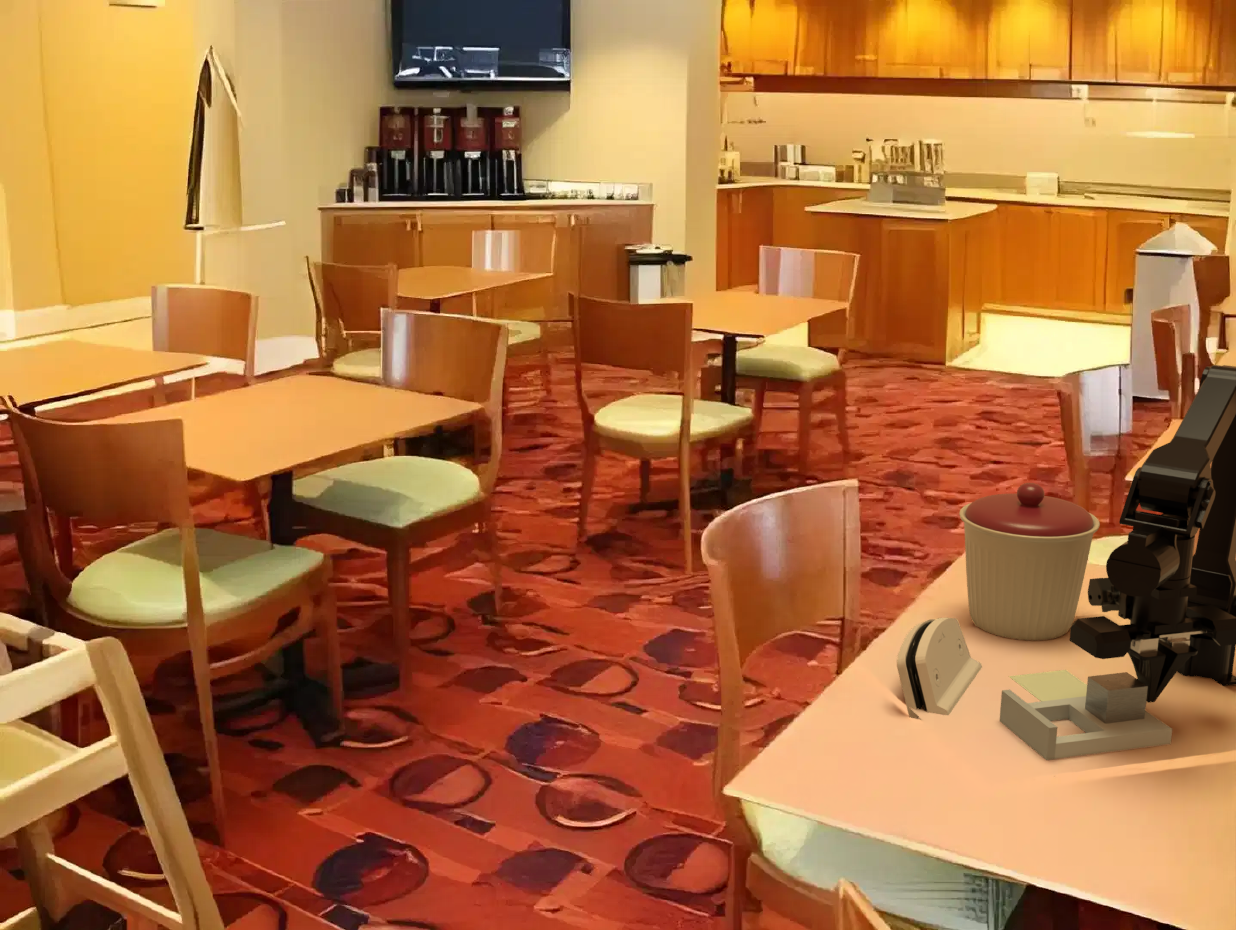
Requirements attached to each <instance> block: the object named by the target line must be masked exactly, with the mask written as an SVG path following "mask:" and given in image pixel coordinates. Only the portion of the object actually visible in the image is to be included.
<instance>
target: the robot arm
mask: <svg viewBox="0 0 1236 930" xmlns="http://www.w3.org/2000/svg"><path fill="white" fill-rule="evenodd" d="M1199 386H1200V387H1199V389H1198V391H1197V393H1196V394H1195V396H1194V398H1193V400H1192V402H1191V404H1190V405H1189V407H1188V409H1187V411H1186V413H1185V414H1184V417H1182V418H1183V419H1182V420H1181V422H1180V424H1179V426H1178V428H1177V430H1176V432H1175V434H1174V436H1172V438H1171V440H1170V441H1169V442H1168V443H1165V444H1163V445H1161V446H1158V447H1156V448H1154V449H1153V450H1152V451H1151V452H1150V453H1149V455H1148V456H1147V458H1146V459H1145V460H1144V461H1143V464H1142V465H1141V466H1140V467H1138V468H1137V469H1136V470H1135V473H1134V476H1133V478H1132V481H1131V484H1130V487H1129V490H1128V493H1127V496H1126V498H1125V502H1124V506H1123V509H1122V512H1121V514H1120V518H1119V525H1124V526H1129V527H1132V530H1131V531H1130V532H1128V535H1127V540H1126V541H1125V542H1123V543H1122V544H1121V545H1119V546H1117V547H1116V548H1115V549H1113V550H1112V552H1111V553H1110V555H1109V556H1108V559H1107V560H1106V565H1105V568H1106V569H1105V570H1106V575H1107V577H1097V578H1089V582H1088V587H1087V600H1088V603H1089V604H1090V605H1091V606H1092V607H1100V606H1101V612H1103V613H1108V612H1111V611H1112V612H1113V611H1114V612H1115V611H1117V612H1118V613H1117V616H1118V617H1119V618H1121V619H1124V620H1129V621H1130V622H1129V624H1122V625H1121V624H1118V623H1117V622H1115V621H1113V620H1112V619H1110V618H1109V617H1106V616H1105V615H1102V616H1101V615H1100V616H1099V615H1098V616H1091V617H1089V616H1088V617H1081V618H1080V617H1079V618H1077V619H1076V620H1074V621H1073V623H1072V626H1071V628H1070V634H1069V641H1070V642H1071V643H1073V644H1074V645H1075V646H1077V647H1079V648H1080V649H1082V650H1083V651H1085V652H1087V653H1088V654H1089V655H1091V656H1092V657H1094V658H1095V659H1100V660H1106V659H1107V660H1108V659H1117V658H1124V657H1125V656H1126V655H1127V654H1128V657H1129V658H1130V660H1131V663H1132V664H1133V668H1134V671H1135V675H1136V679H1138V680H1139V681H1141V682H1142V683H1144V684H1145V685H1147V686H1148V690H1147V699H1146V703H1149V704H1150V703H1155V702H1156V701H1157V700H1158V698H1159V697H1160V695H1161V694H1162V693H1163V691H1164V690H1165V688H1166V687H1167V686H1168V684H1169V683H1170V681H1171V680H1172V679H1173V677H1175V675H1176V674H1177V673H1178V674H1181V675H1182V676H1183V677H1190V678H1191V677H1198V678H1204V679H1210V680H1212V681H1214V682H1216V683H1218V684H1219V685H1220V686H1222V687H1225V686H1234V685H1236V676H1235V675H1233V670H1234V664H1235V655H1236V366H1234V365H1225V364H1224V365H1219V364H1213V365H1211V366H1205V368H1203V372H1202V374H1201V378H1200V384H1199ZM1139 505H1140V508H1141V509H1142V510H1145V511H1142V510H1137V509H1138V507H1139ZM1147 511H1150V512H1147ZM1151 512H1154V513H1151ZM1155 512H1156V513H1155ZM1157 513H1160V514H1157ZM1198 531H1199V532H1198ZM1197 533H1198V537H1197V542H1196V543H1197V544H1196V549H1195V551H1194V548H1195V540H1196V535H1197Z"/></svg>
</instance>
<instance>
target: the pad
mask: <svg viewBox="0 0 1236 930" xmlns="http://www.w3.org/2000/svg"><path fill="white" fill-rule="evenodd" d="M1008 677H1009V678H1010V679H1011V680H1013V681H1014V682H1015V683H1016V684H1018V685H1019V686H1020V687H1022V688H1023V689H1024V690H1026V691H1027V692H1028V693H1030V694H1031V695H1032V697H1034V698H1036V699H1037V700H1039V702H1041V701H1049V700H1058V699H1066V698H1075V697H1083V696H1086V692H1087V683H1086V682H1084V681H1082V680H1081V679H1079V677H1077V676H1076V675H1074V674H1073V673H1071V672H1069V670H1067V669H1061V670H1053V671H1043V672H1034V673H1026V674H1018V675H1017V674H1016V675H1009V676H1008Z"/></svg>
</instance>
